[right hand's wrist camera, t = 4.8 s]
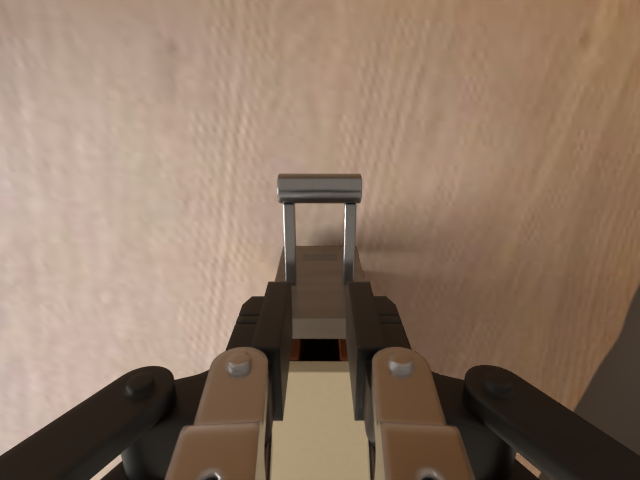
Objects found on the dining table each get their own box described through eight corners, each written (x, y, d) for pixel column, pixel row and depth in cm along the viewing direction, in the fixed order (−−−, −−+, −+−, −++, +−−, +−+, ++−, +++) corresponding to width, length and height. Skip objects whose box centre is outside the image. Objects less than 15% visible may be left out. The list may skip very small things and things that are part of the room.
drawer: (280, 157, 24) (257, 190, 16) (359, 157, 24) (381, 190, 16) (290, 446, 33) (280, 570, 25) (348, 447, 33) (359, 571, 25)
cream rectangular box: (277, 270, 28) (252, 371, 18) (362, 270, 28) (386, 372, 18) (285, 466, 35) (271, 620, 25) (353, 466, 35) (367, 620, 25)
